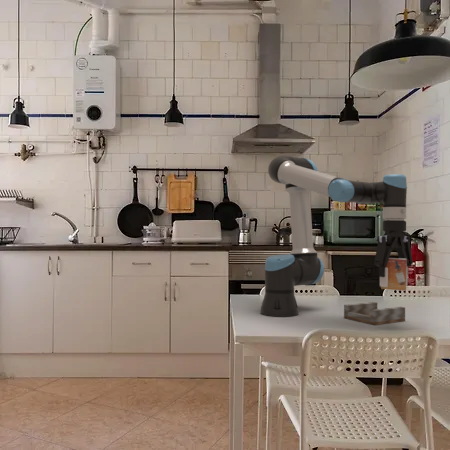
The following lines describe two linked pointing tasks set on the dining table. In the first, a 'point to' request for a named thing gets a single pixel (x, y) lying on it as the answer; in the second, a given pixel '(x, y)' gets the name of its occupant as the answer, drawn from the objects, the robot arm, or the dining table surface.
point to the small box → (396, 274)
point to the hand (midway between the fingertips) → (393, 285)
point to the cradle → (373, 313)
